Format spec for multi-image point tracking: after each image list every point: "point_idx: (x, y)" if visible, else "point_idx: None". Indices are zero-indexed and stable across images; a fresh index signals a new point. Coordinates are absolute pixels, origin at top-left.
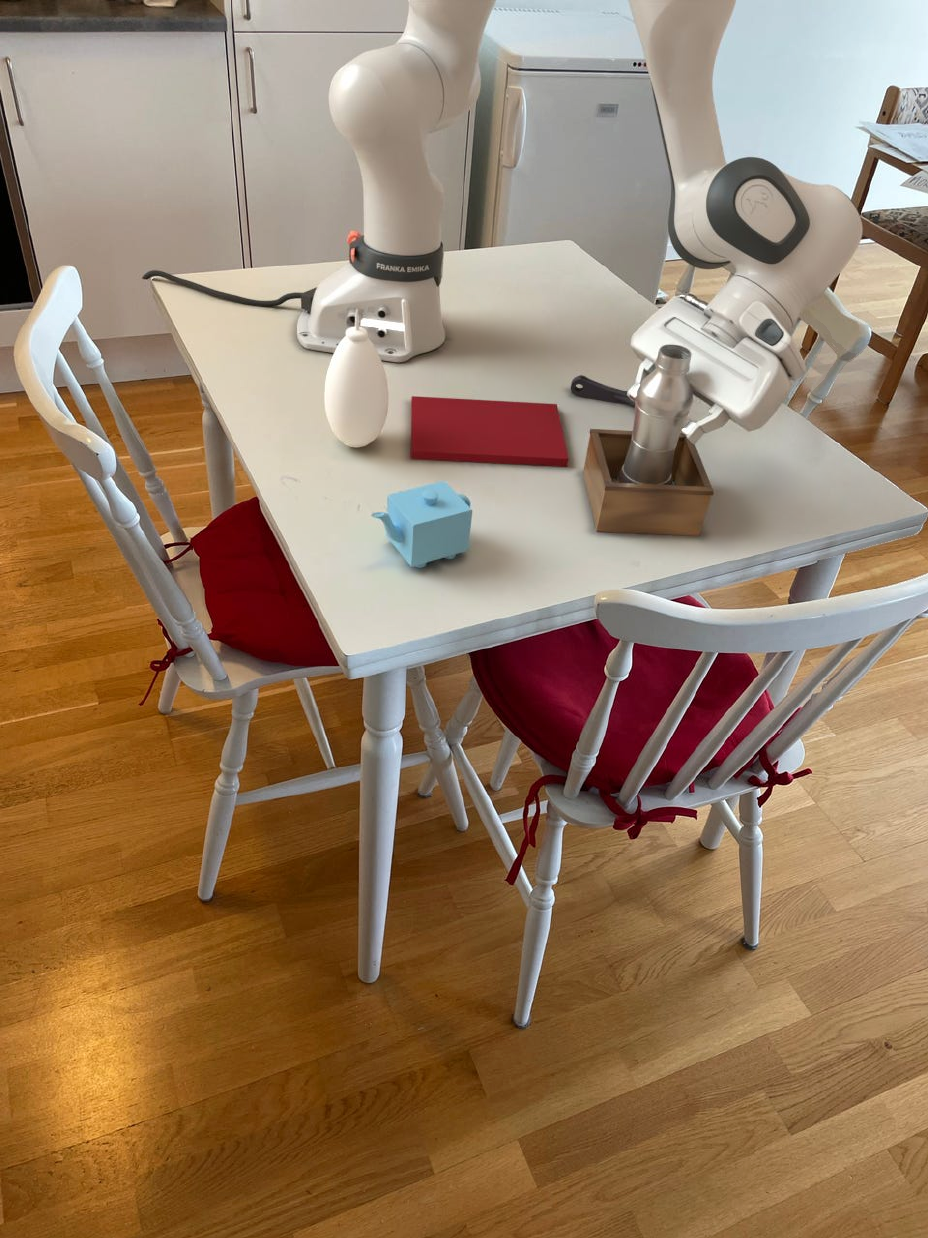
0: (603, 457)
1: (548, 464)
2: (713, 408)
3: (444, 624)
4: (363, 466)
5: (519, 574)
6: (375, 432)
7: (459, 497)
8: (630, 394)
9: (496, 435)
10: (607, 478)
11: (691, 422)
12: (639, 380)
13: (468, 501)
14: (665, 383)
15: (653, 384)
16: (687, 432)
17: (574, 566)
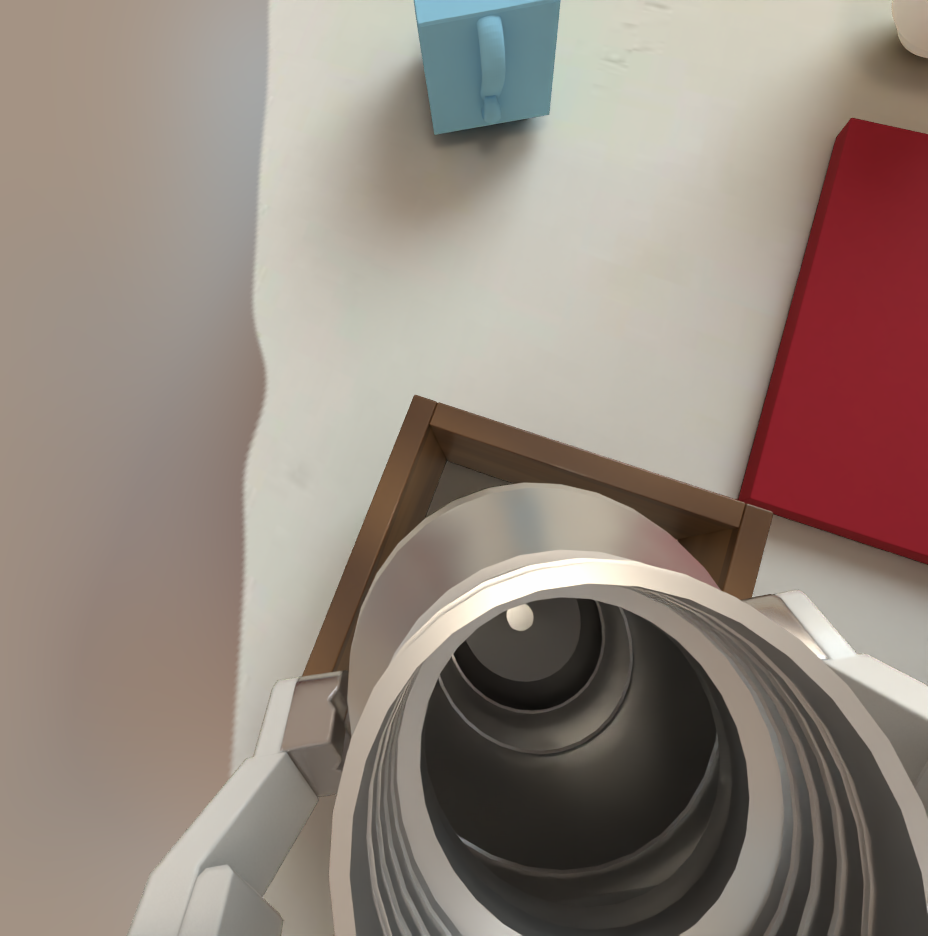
0: (572, 466)
1: (752, 450)
2: (204, 917)
3: (275, 65)
4: (817, 40)
5: (354, 225)
6: (913, 1)
7: (476, 11)
8: (773, 596)
9: (909, 344)
10: (450, 419)
11: (310, 734)
12: (855, 672)
13: (480, 53)
14: (438, 597)
15: (509, 526)
16: (298, 685)
17: (338, 339)
